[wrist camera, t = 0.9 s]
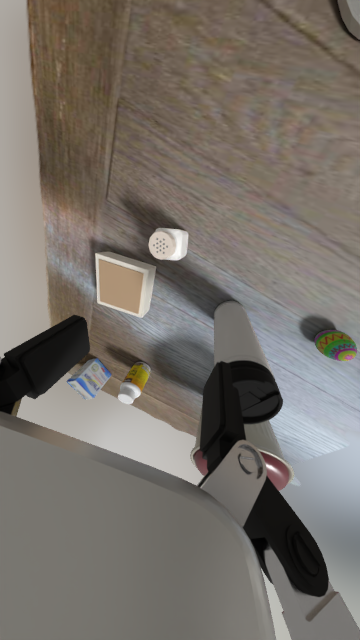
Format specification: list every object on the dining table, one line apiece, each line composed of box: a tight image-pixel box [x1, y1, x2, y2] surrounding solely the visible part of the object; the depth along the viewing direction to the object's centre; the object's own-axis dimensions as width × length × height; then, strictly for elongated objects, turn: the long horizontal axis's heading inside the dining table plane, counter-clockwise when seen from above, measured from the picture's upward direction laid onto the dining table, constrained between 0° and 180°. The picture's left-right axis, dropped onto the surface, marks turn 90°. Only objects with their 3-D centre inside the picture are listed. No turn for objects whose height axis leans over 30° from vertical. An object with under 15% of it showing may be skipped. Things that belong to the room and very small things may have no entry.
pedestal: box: [95, 251, 156, 318], centre depth 30 cm, size 10×10×4 cm
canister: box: [190, 410, 294, 491], centre depth 33 cm, size 18×18×21 cm
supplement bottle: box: [118, 362, 151, 404], centre depth 40 cm, size 6×6×10 cm
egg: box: [315, 330, 357, 361], centre depth 27 cm, size 5×5×6 cm
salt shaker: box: [148, 228, 188, 260], centre depth 22 cm, size 4×4×10 cm
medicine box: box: [67, 358, 111, 399], centre depth 45 cm, size 8×4×9 cm, turn 26°
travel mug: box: [214, 301, 283, 424], centre depth 22 cm, size 6×7×20 cm
